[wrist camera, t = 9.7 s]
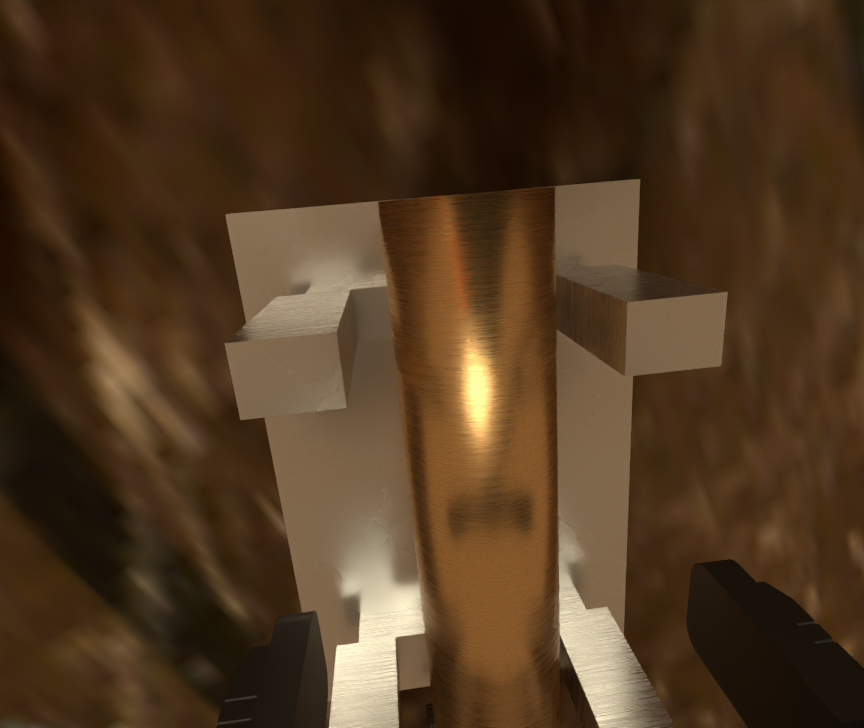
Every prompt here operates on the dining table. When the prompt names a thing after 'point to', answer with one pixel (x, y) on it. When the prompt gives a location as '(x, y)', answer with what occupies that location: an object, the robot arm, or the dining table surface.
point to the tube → (481, 446)
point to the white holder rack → (384, 445)
